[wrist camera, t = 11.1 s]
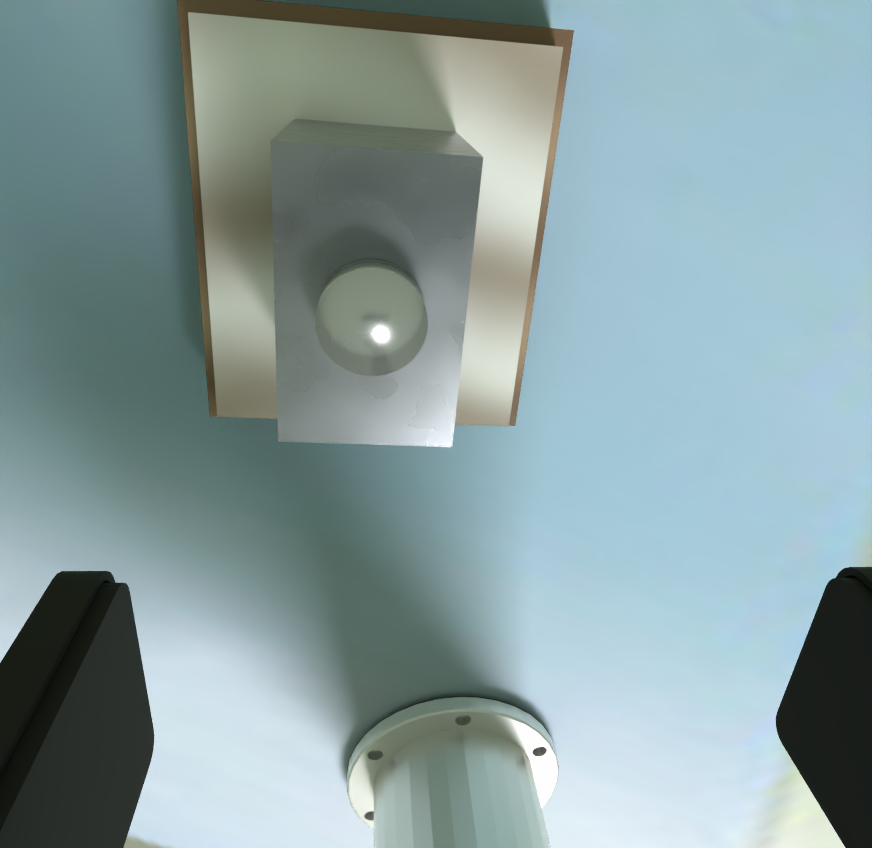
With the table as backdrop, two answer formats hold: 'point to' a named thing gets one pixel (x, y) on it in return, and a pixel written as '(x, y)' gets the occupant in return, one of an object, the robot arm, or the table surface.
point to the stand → (374, 105)
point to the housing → (371, 280)
